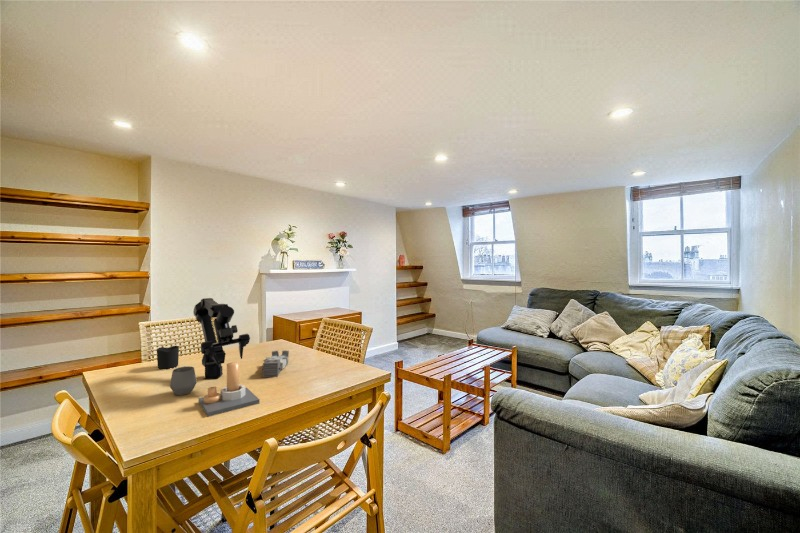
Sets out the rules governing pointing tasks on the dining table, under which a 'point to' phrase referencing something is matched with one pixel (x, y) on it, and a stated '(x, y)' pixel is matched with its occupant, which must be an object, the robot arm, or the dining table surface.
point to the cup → (183, 380)
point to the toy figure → (275, 363)
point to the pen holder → (167, 357)
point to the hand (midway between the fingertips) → (230, 361)
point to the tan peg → (232, 376)
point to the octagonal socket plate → (226, 400)
